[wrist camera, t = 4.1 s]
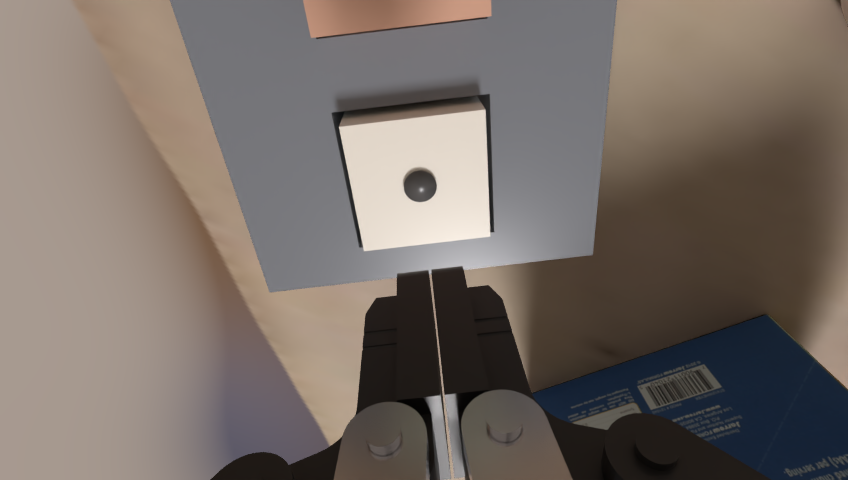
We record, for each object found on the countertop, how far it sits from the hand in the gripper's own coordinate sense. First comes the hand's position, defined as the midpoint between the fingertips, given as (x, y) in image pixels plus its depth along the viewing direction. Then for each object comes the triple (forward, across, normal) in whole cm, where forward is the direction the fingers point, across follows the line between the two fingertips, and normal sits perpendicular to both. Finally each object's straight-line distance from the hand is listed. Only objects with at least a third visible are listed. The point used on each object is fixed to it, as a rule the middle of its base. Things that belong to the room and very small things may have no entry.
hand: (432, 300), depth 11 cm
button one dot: (+12, 0, 0) cm, 12 cm away
